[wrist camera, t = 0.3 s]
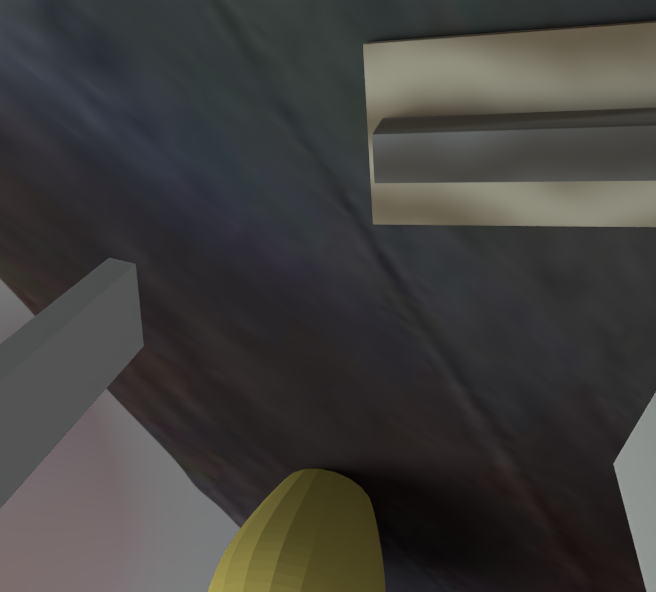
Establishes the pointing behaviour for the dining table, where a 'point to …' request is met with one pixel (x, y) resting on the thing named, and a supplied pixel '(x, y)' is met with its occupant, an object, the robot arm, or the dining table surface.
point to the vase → (306, 540)
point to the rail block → (515, 127)
